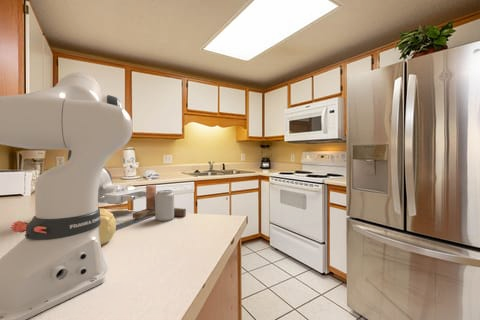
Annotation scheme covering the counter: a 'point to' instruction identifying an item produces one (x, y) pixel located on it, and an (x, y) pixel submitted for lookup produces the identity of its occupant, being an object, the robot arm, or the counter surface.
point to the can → (164, 205)
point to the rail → (132, 222)
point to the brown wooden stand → (151, 205)
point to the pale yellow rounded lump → (106, 226)
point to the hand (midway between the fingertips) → (141, 196)
